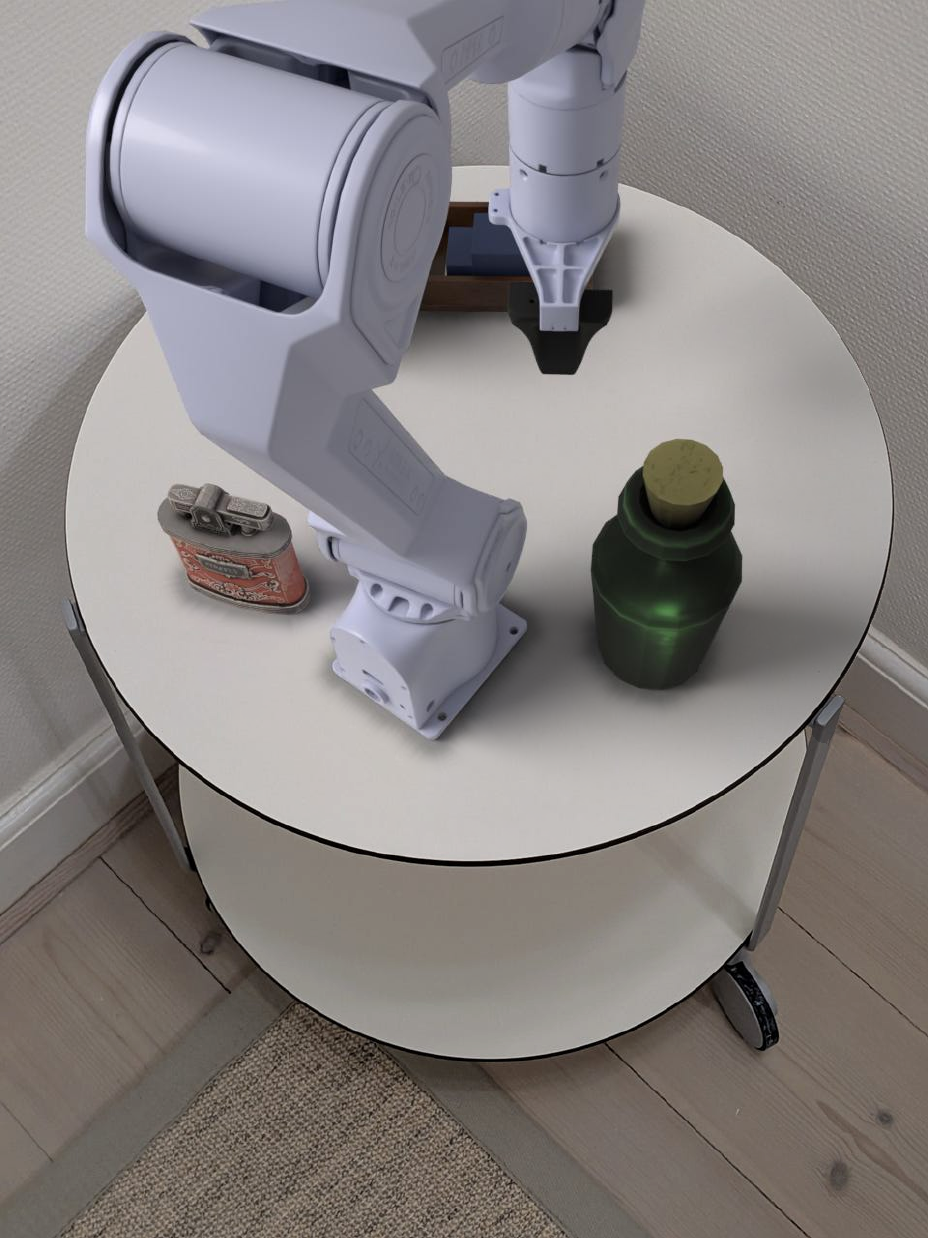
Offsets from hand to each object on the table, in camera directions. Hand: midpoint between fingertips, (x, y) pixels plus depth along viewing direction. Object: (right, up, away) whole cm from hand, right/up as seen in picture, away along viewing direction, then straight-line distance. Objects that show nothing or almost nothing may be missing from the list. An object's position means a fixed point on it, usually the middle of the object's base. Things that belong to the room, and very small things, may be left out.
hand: (560, 319), depth 75 cm
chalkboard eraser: (-3, +6, +14) cm, 15 cm away
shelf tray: (-3, +7, +14) cm, 16 cm away
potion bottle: (+6, -20, 0) cm, 20 cm away
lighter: (-19, -16, +3) cm, 25 cm away
